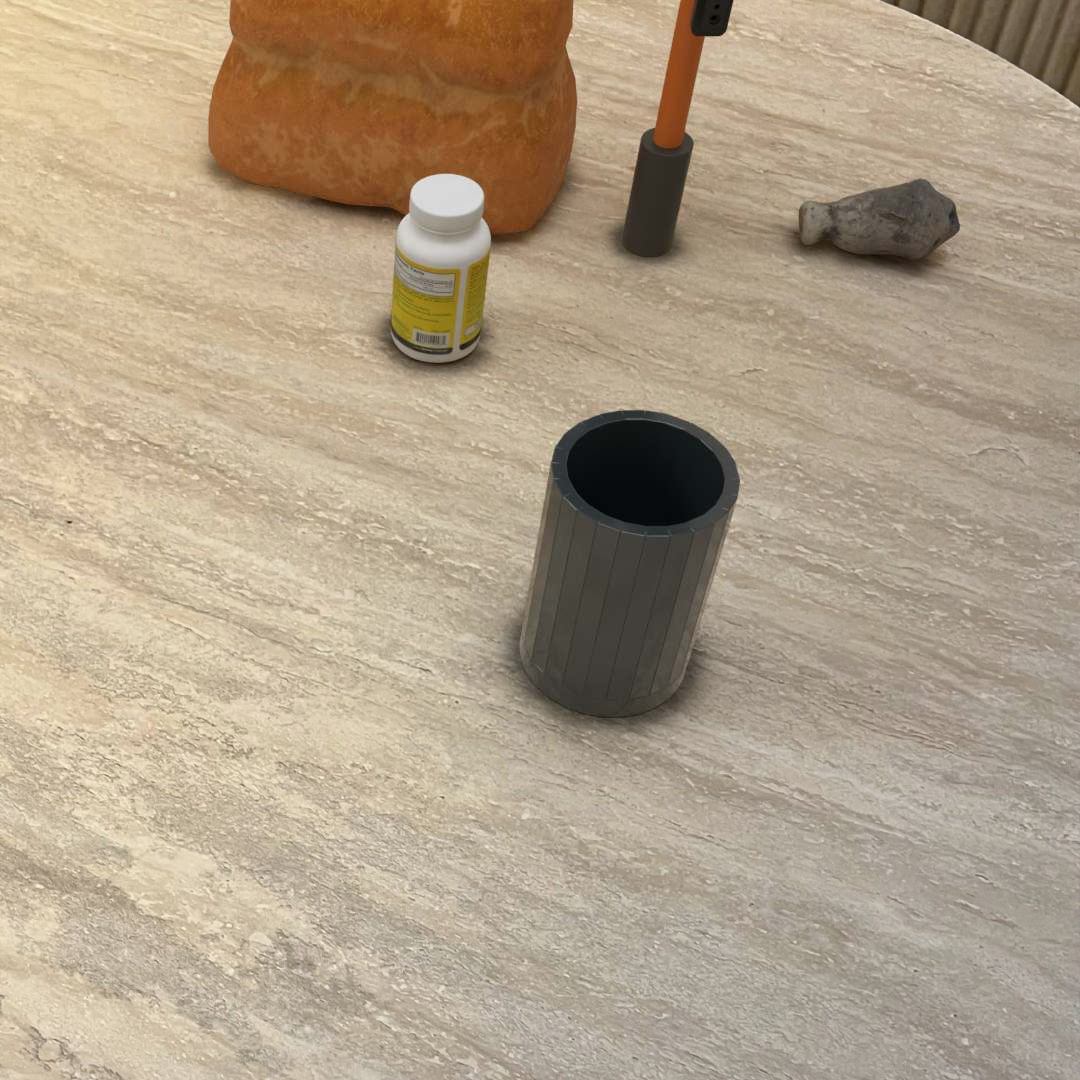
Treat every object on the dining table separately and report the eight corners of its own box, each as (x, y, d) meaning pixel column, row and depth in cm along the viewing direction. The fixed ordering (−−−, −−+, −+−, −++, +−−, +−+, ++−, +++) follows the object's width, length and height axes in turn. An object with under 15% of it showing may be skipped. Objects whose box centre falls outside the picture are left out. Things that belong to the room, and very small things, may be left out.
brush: (667, 227, 124) (727, -48, 108) (674, 257, 121) (736, -19, 106) (618, 227, 124) (670, -48, 108) (624, 257, 121) (679, -20, 105)
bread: (531, 257, 121) (565, 24, 108) (192, 182, 127) (183, -50, 113) (585, 142, 130) (623, -87, 116) (266, 76, 136) (266, -150, 122)
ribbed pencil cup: (672, 594, 101) (723, 409, 90) (697, 717, 95) (754, 536, 84) (512, 594, 101) (542, 409, 90) (527, 717, 95) (562, 536, 84)
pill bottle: (455, 301, 118) (470, 157, 109) (495, 353, 115) (514, 209, 106) (374, 322, 117) (383, 178, 108) (412, 375, 113) (424, 231, 104)
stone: (781, 259, 123) (853, 241, 115) (788, 181, 122) (861, 158, 115) (893, 274, 126) (970, 258, 119) (901, 198, 125) (979, 177, 118)
